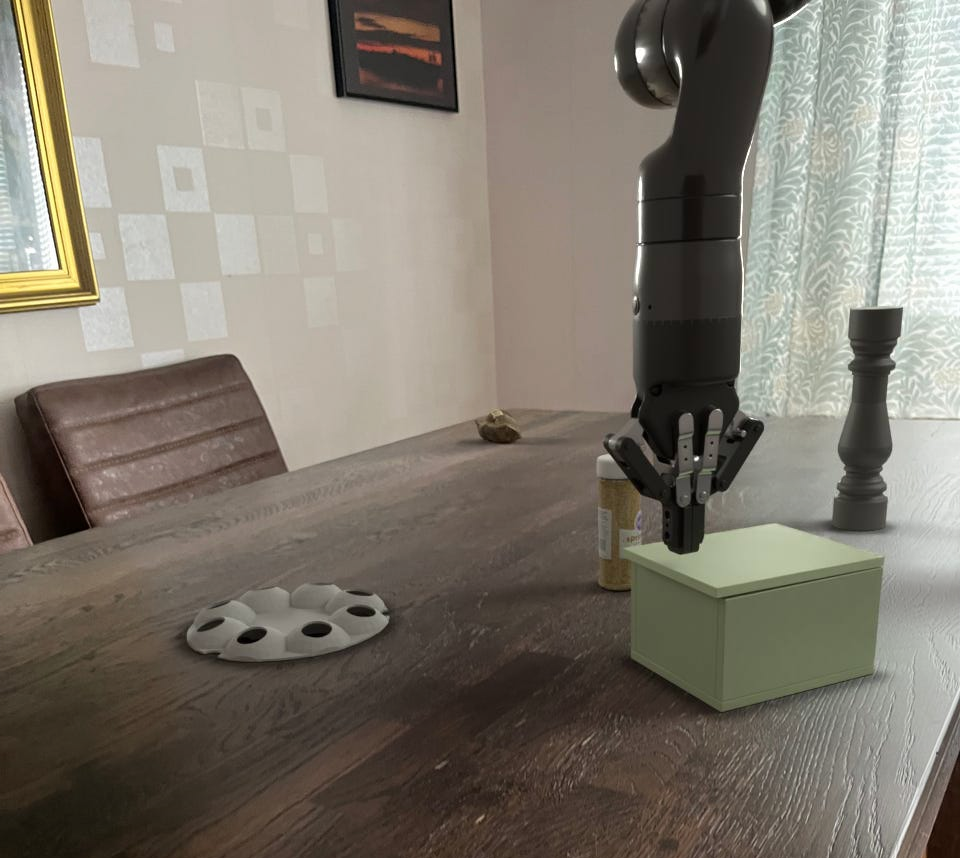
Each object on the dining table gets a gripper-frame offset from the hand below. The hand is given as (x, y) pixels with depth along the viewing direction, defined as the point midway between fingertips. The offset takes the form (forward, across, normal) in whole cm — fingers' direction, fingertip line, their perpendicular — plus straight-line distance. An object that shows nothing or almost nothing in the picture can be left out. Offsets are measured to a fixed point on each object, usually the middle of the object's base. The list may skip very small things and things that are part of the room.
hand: (683, 551), depth 76 cm
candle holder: (+11, +46, +29) cm, 55 cm away
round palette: (+11, -24, +31) cm, 41 cm away
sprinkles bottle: (+11, +9, +24) cm, 28 cm away
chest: (+11, +6, 0) cm, 13 cm away
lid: (+2, +6, 0) cm, 6 cm away
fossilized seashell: (+11, +37, +114) cm, 120 cm away
